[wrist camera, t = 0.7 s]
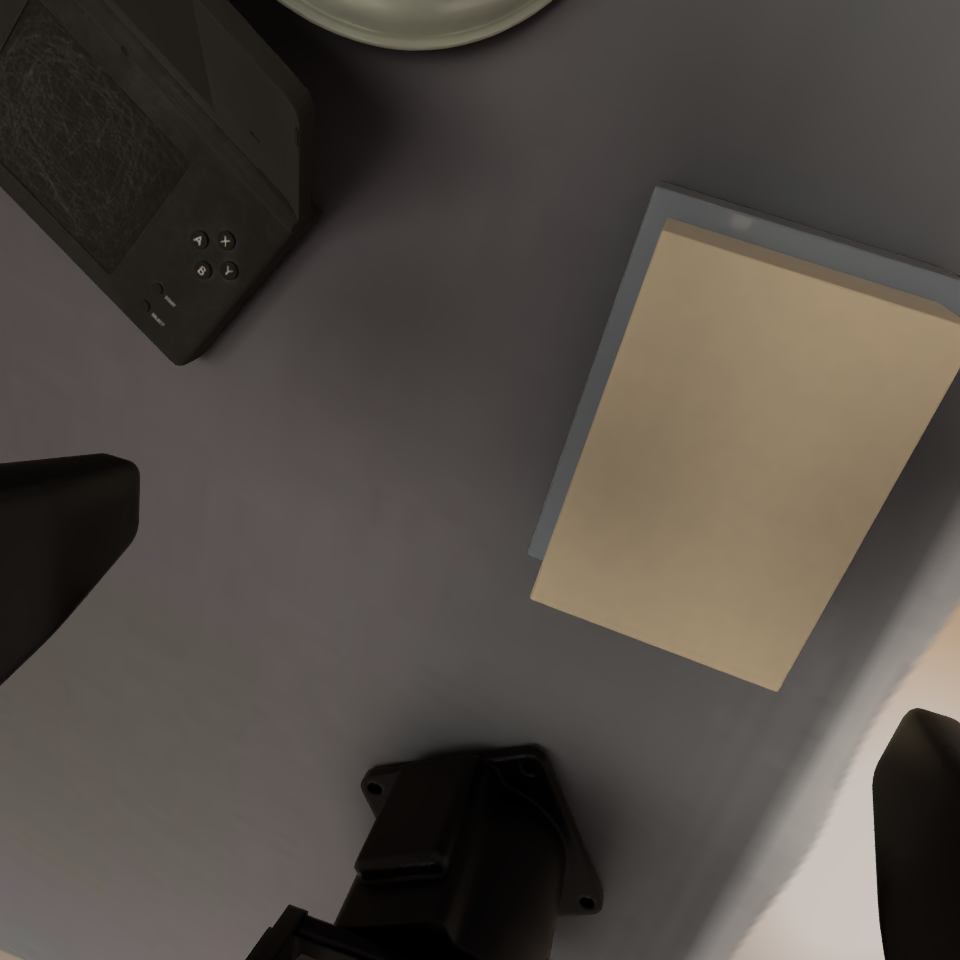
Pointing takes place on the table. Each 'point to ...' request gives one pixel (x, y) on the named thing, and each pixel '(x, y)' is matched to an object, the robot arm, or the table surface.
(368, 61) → the table surface
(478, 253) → the table surface
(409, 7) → the pale green streaked slab
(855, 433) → the cream rectangular block
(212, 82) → the handheld gaming console
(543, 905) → the robot arm
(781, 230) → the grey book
